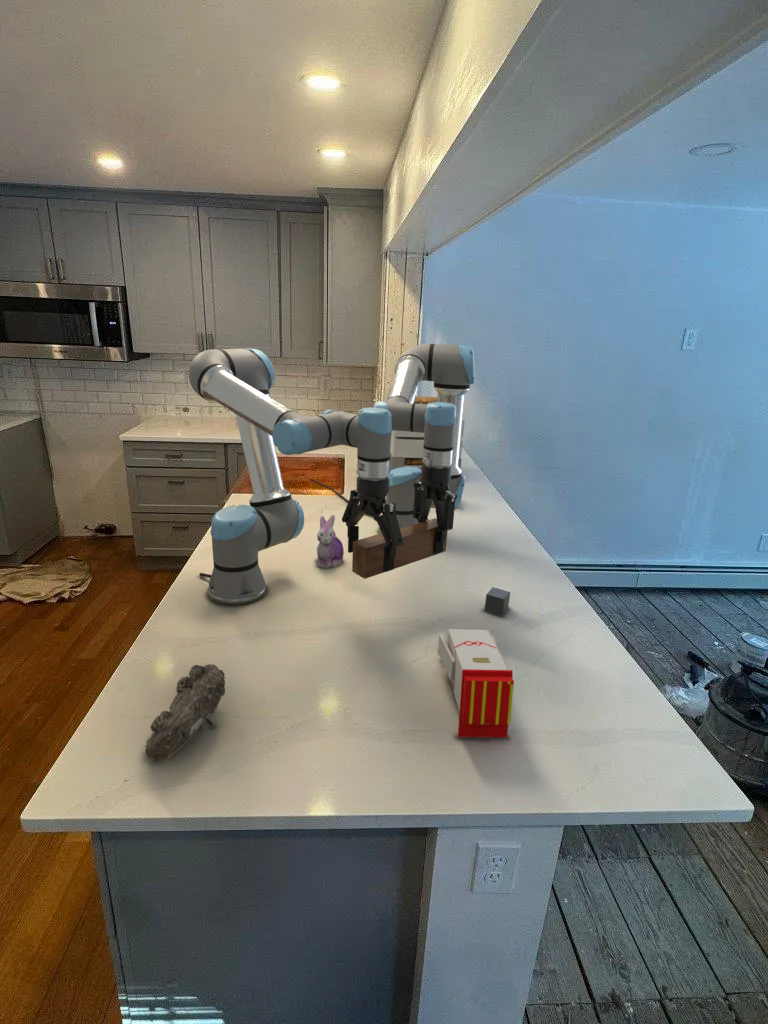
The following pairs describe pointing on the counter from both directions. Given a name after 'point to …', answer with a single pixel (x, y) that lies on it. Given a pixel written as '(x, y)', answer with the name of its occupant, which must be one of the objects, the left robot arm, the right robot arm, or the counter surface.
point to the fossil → (186, 710)
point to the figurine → (328, 544)
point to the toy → (478, 682)
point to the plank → (413, 549)
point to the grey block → (497, 601)
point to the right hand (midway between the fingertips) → (430, 548)
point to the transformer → (413, 443)
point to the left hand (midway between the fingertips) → (370, 560)
